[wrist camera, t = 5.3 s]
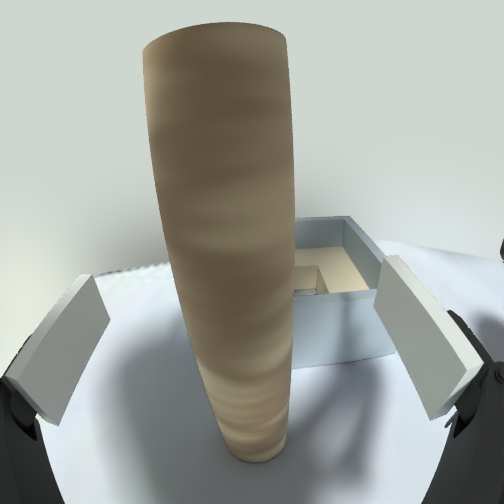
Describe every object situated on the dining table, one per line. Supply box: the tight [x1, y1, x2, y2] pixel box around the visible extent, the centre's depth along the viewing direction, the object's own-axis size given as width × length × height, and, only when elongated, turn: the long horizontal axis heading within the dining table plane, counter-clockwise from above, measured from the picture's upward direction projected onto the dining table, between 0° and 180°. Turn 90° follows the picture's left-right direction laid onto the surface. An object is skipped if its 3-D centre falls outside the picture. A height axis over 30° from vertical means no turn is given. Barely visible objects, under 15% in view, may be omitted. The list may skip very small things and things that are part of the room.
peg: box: [143, 22, 295, 463], centre depth 10 cm, size 4×4×20 cm
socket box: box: [291, 216, 396, 369], centre depth 26 cm, size 16×16×6 cm
